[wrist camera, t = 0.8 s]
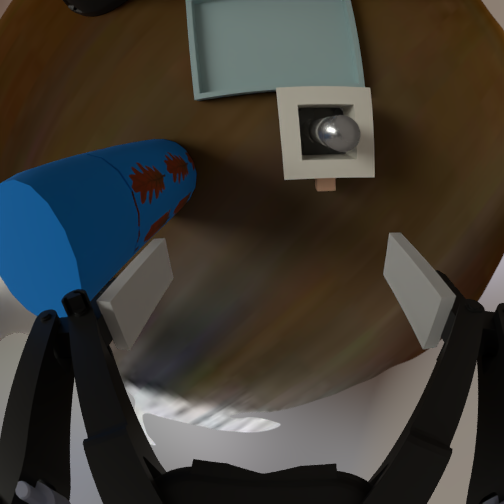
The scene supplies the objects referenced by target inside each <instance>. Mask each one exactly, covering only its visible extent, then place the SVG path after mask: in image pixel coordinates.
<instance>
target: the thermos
mask: <svg viewBox="0 0 504 504" xmlns="http://www.w3.org/2000/svg"><path fill="white" fill-rule="evenodd" d="M196 175H197V174H196V170H195V166H194V162H193V160H192V158H191V157H190V155H189V154H188V152H187V151H186V149H184V148H183V147H181V146H180V145H179V144H177V143H176V142H173V141H169V140H165V139H151V140H145V141H138V142H133V143H127V144H122V145H118V146H113V147H108V148H104V149H99V150H95V151H91V152H87V153H83V154H79V155H75V156H72V157H68V158H64V159H61V160H58V161H54V162H51V163H48V164H44V165H41V166H38V167H35V168H32V169H29V170H26V171H23V172H21V173H18V174H16V175H14V176H12V177H10V178H9V179H7V180H5V181H4V182H2V183H0V277H1V278H2V280H3V281H4V283H5V284H6V286H7V287H8V289H9V290H10V292H11V293H12V295H13V296H14V297H15V298H16V299H17V300H18V301H19V302H20V303H21V304H22V305H23V306H24V307H25V308H26V309H27V310H28V311H30V312H31V313H33V314H34V315H36V316H38V315H39V314H40V313H41V312H43V311H45V310H50V309H53V310H55V311H56V312H57V314H58V317H59V318H61V317H68V316H67V314H66V311H65V309H64V307H63V305H62V302H61V300H62V298H63V297H64V296H65V295H66V294H67V293H69V292H71V291H73V290H77V289H83V290H85V291H86V293H87V295H88V298H89V300H90V301H91V300H92V299H93V298H94V297H95V296H96V295H97V293H98V292H99V291H100V290H101V289H102V288H103V287H104V286H105V285H106V284H107V283H108V281H109V280H110V279H111V278H112V277H113V276H114V275H115V274H116V273H117V272H118V271H119V270H120V269H121V268H122V267H123V266H124V265H125V264H126V263H127V261H128V260H129V259H130V258H131V257H132V256H133V255H134V254H135V253H136V252H137V251H138V250H139V249H140V248H141V247H142V246H143V245H144V244H145V243H146V242H147V241H148V240H149V239H150V238H151V237H152V236H153V235H154V234H156V233H157V232H158V231H159V230H160V229H161V228H162V227H163V226H164V225H165V224H166V223H167V222H168V221H169V220H170V219H171V218H172V217H173V216H174V215H175V214H176V213H177V212H178V211H179V210H180V209H181V208H182V207H183V206H184V205H185V204H186V203H187V202H188V200H189V199H190V198H191V195H192V193H193V191H194V189H195V186H196Z"/></svg>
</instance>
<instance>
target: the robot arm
mask: <svg viewBox="0 0 504 504" xmlns="http://www.w3.org/2000/svg"><path fill="white" fill-rule="evenodd" d="M63 1H64V2H65V4H66V5H67V6H68V7H69V8H70V9H71V10H72V11H73V12H75V13H78V14H80V15H83V16H98V15H101V14H104V13H107V12H109V11H111V10H113V9H115V8H117V7H118V6H120V5H121V4H123V3H124V2H125V1H127V0H63ZM383 275H384V277H385V279H386V280H387V282H388V284H389V286H390V287H391V289H392V291H393V293H394V294H395V296H396V298H397V300H398V302H399V303H400V305H401V307H402V309H403V311H404V313H405V315H406V317H407V318H408V320H409V322H410V324H411V326H412V328H413V330H414V332H415V334H416V336H417V338H418V340H419V342H420V344H421V346H422V348H423V349H428V348H434V347H437V345H438V343H439V340H440V338H441V337H442V339H443V341H444V345H443V347H442V349H441V352H440V354H439V356H438V358H437V362H436V365H435V367H434V370H433V372H432V374H431V377H430V379H429V381H428V383H427V385H426V388H425V390H424V392H423V394H422V396H421V398H420V400H419V402H418V404H417V406H416V408H415V410H414V412H413V414H412V416H411V417H410V419H409V421H408V423H407V425H406V426H405V428H404V430H403V432H402V434H401V435H400V437H399V438H398V440H397V442H396V443H395V445H394V447H393V448H392V450H391V451H390V453H389V455H388V456H387V457H386V459H385V460H384V462H383V463H382V465H381V466H380V468H379V469H378V470H377V471H376V473H375V474H374V475H373V476H372V478H371V479H370V480H369V481H368V482H367V481H366V480H364V479H362V478H360V477H358V476H356V475H353V474H350V473H346V472H340V471H337V469H336V464H325V465H310V466H299V467H294V468H290V469H286V470H281V471H277V472H271V473H266V474H261V473H257V472H254V471H250V470H247V469H243V468H240V467H236V466H233V465H230V464H227V463H218V462H209V461H202V460H195V459H194V460H193V464H192V467H184V468H178V469H175V470H171V471H169V472H166V471H165V470H164V468H163V467H162V465H161V464H160V463H159V461H158V459H157V457H156V456H155V454H154V452H153V450H152V448H151V446H150V444H149V442H148V440H147V438H146V436H145V434H144V431H143V429H142V427H141V425H140V423H139V421H138V418H137V416H136V414H135V412H134V409H133V407H132V404H131V402H130V400H129V397H128V395H127V392H126V390H125V387H124V384H123V382H122V379H121V376H120V373H119V371H118V368H117V365H116V362H115V359H114V356H113V353H112V350H111V348H110V346H109V344H110V343H111V341H112V340H113V341H114V344H115V346H116V348H117V349H122V350H129V351H130V350H131V348H132V347H133V345H134V343H135V341H136V340H137V338H138V336H139V334H140V333H141V331H142V329H143V328H144V326H145V324H146V323H147V321H148V319H149V318H150V316H151V314H152V313H153V311H154V309H155V308H156V306H157V304H158V303H159V301H160V299H161V298H162V296H163V294H164V293H165V291H166V290H167V288H168V286H169V285H170V283H171V282H172V280H173V274H172V269H171V265H170V260H169V255H168V250H167V245H166V240H165V238H160V239H153V240H152V241H151V242H150V243H149V244H148V245H147V246H146V247H145V248H144V249H143V250H142V251H141V253H140V254H139V255H138V256H137V257H136V258H135V259H134V260H133V261H132V262H131V263H130V264H129V265H128V266H127V267H126V268H125V270H124V271H123V272H122V273H121V274H120V275H119V276H118V277H116V278H114V279H113V280H111V281H110V282H108V283H107V285H106V286H105V287H104V288H103V289H102V290H101V291H100V293H98V295H97V296H96V297H95V298H94V299H93V300H92V301H91V302H90V300H89V298H88V295H87V293H86V291H85V290H83V289H77V290H73V291H71V292H69V293H67V294H66V295H65V296H64V297H63V298H62V300H61V302H62V305H63V307H64V309H65V311H66V314H67V316H68V317H61V318H59V317H58V314H57V312H56V311H55V310H53V309H50V310H45V311H43V312H41V313H40V314H39V315H38V316H37V317H36V319H35V321H34V324H33V326H32V329H31V331H30V334H29V336H28V339H27V341H26V344H25V347H24V350H23V352H22V355H21V358H20V361H19V364H18V367H17V370H16V374H15V377H14V380H13V384H12V387H11V391H10V395H9V399H8V403H7V407H6V411H5V417H4V421H3V426H2V431H1V438H0V504H70V502H69V499H70V488H71V486H70V422H71V407H72V394H73V385H74V377H75V382H76V387H77V392H78V398H79V402H80V407H81V412H82V416H83V420H84V424H85V428H86V432H87V435H88V439H84V441H83V445H84V450H85V454H86V457H87V460H88V464H89V467H90V470H91V473H92V476H93V478H94V481H95V484H96V487H97V489H98V492H99V494H100V497H101V499H102V502H103V504H427V502H428V501H429V499H430V497H431V495H432V493H433V492H434V490H435V488H436V486H437V484H438V482H439V480H440V479H441V477H442V475H443V472H444V470H445V468H446V466H447V464H448V462H449V459H450V457H451V454H452V449H451V448H450V444H451V441H452V439H453V436H454V434H455V431H456V429H457V426H458V423H459V420H460V418H461V415H462V412H463V409H464V406H465V403H466V399H467V396H468V393H469V389H470V386H471V382H472V378H473V374H474V370H475V366H476V362H477V365H478V422H477V435H476V445H475V454H474V461H473V467H472V473H471V479H470V484H469V489H468V495H467V501H466V504H504V303H501V304H499V305H498V306H497V309H496V311H495V312H488V311H485V310H484V307H483V306H482V305H481V304H480V303H479V302H477V301H475V300H471V299H465V298H464V296H463V295H462V294H461V293H460V291H459V290H458V289H457V288H456V287H454V284H453V283H452V282H451V281H450V280H449V278H448V277H447V276H446V275H445V274H443V273H442V272H440V271H438V270H436V271H435V270H434V269H433V268H432V266H431V265H430V264H429V263H428V262H427V261H426V260H425V259H424V257H423V256H422V255H421V254H420V253H419V252H418V251H417V250H416V249H415V247H414V246H413V245H412V244H411V243H410V242H409V241H408V240H407V239H406V238H405V237H404V236H403V235H402V234H401V233H389V238H388V245H387V253H386V259H385V266H384V272H383Z"/></svg>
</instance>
